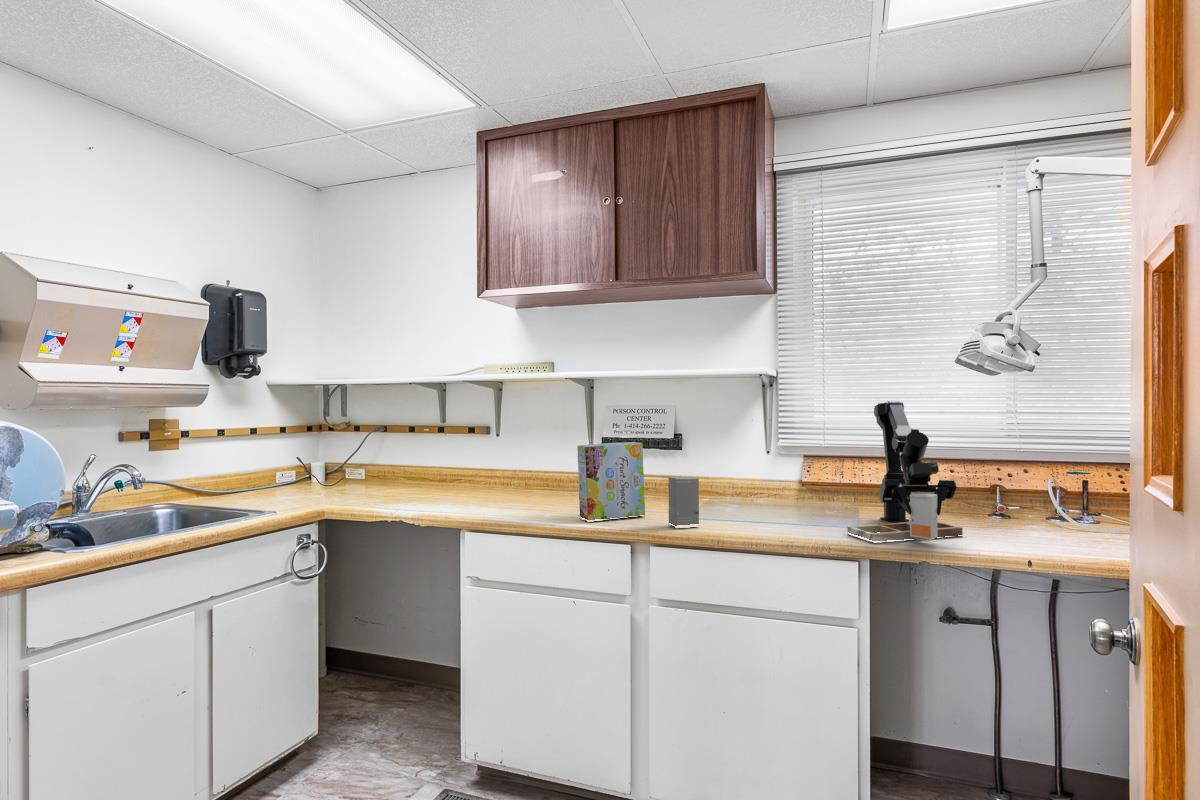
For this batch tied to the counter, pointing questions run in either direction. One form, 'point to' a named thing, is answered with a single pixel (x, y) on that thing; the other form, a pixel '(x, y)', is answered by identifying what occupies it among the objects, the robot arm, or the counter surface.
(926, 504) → the skincare box
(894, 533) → the brown compartment tray
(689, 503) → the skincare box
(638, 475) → the snack box
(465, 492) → the counter surface
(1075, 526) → the counter surface
